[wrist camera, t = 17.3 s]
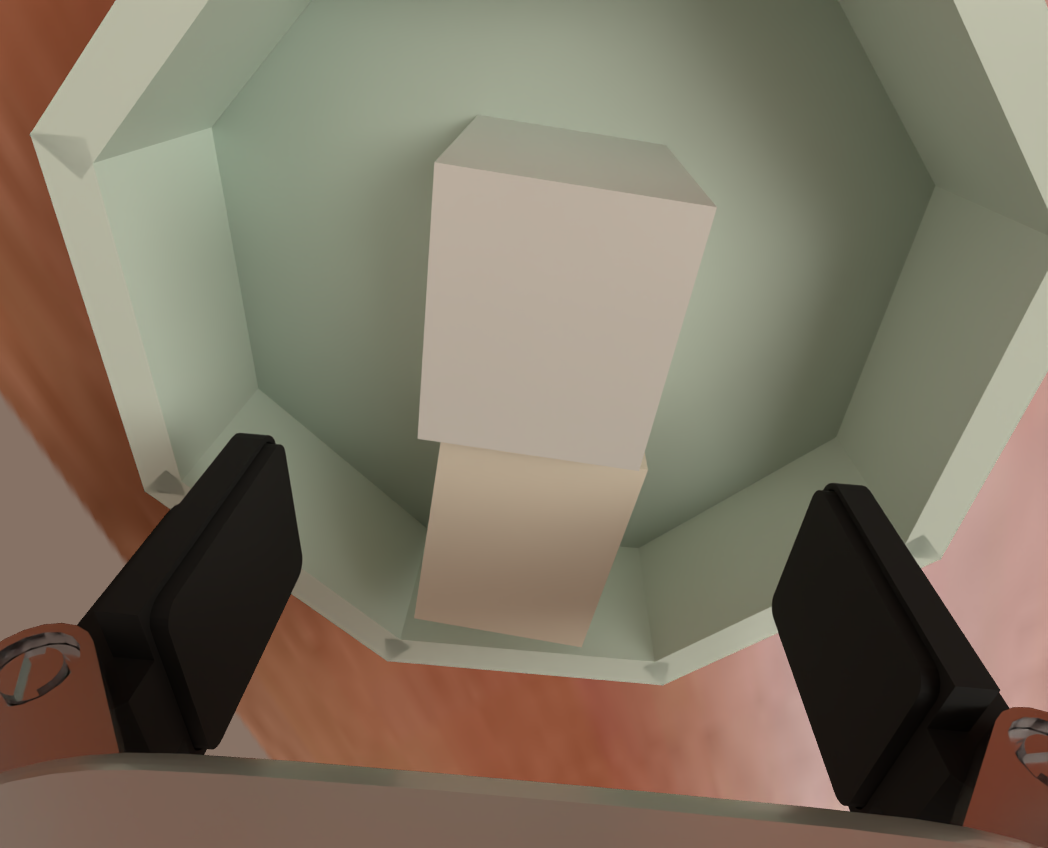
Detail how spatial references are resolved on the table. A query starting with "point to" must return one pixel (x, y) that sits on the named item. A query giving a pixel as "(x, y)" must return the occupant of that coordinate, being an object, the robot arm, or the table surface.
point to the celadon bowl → (712, 314)
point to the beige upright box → (522, 541)
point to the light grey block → (555, 290)
